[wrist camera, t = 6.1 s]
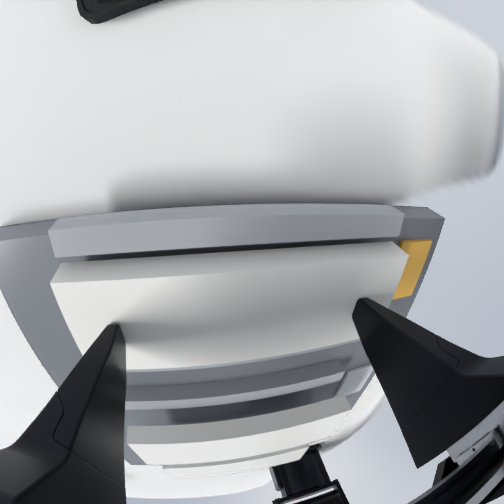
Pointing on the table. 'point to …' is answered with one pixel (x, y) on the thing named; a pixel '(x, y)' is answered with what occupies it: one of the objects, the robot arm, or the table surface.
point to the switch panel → (198, 242)
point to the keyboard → (108, 8)
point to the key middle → (238, 434)
